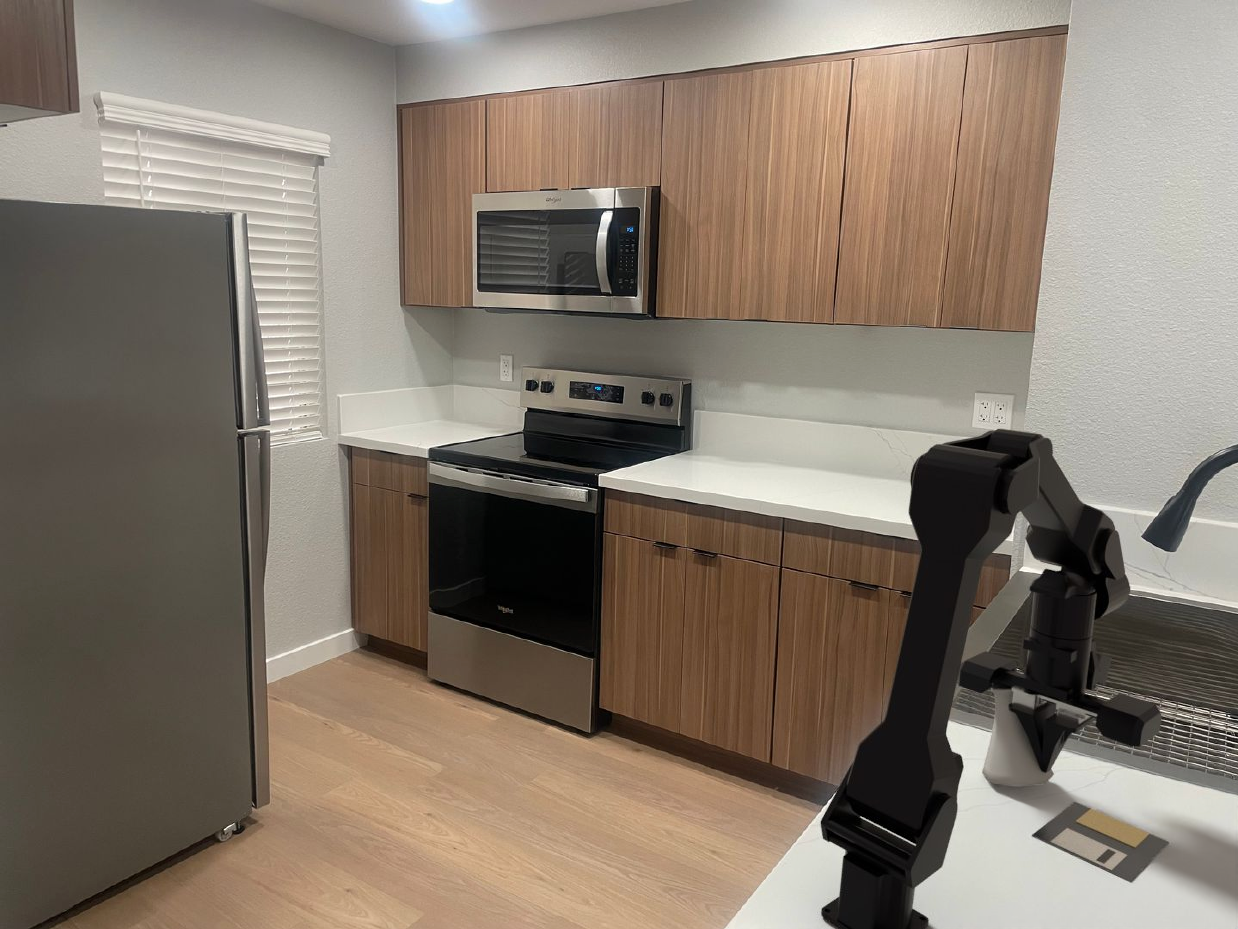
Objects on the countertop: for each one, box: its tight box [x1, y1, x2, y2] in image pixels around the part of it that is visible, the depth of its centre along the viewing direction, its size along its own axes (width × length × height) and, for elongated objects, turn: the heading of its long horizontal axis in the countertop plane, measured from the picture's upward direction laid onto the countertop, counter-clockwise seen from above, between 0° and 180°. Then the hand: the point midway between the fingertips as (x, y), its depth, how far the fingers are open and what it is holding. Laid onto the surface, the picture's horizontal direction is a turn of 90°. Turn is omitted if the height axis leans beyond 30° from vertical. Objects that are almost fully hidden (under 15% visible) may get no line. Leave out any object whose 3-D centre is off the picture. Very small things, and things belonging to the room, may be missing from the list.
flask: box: [981, 683, 1055, 788], centre depth 99 cm, size 7×7×10 cm
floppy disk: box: [1031, 801, 1170, 882], centre depth 89 cm, size 10×9×1 cm
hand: (1045, 771), depth 96 cm, fingers closed
